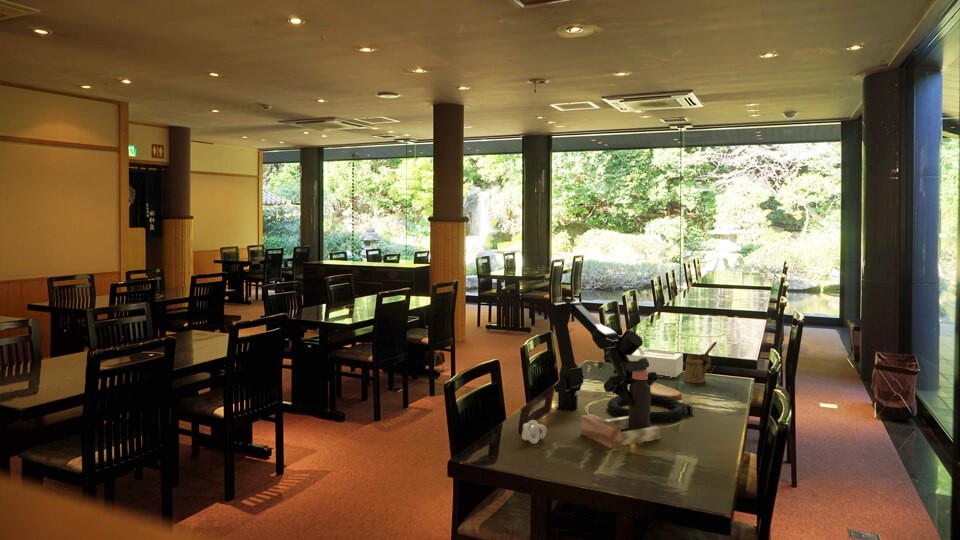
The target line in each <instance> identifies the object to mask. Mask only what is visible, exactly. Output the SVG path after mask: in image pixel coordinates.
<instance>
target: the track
mask: <svg viewBox="0 0 960 540" xmlns="http://www.w3.org/2000/svg"><path fill="white" fill-rule="evenodd" d="M580 421H581V422H580V423H581V426H580V428H581V429H580V430H581V431H580V432H581V435H582V434H583V436H584V435H585V436H584V437H586V436H587V437H586V438H588V439H591V440H592V439H593V440H592V441H594V440H595V442H596V441H597V442H596V443H598V442H599V443H598V444H600V443H601V444H600V445H602V444H603V445H602V446H604V445H605V446H604V447H606V446H607V447H606V448H608V447H609V448H608V449H615V448H620V447H619V446H621V445H624V446H627V445H626V444H629V445H634V444H633V443H635V444H638V442H640V443H644V441H646V442H649V441H655V440H656V441H657V440H661V439H660V438H661V428H660V427H658V426H656V425H655V426H650V427H648V428H642V429H637V430H631V431H628V430H627V431H622V430H621V429H623V430H626V429H625V428H628V421H629V416H625V417H613V418H608V419H607V418H606V419H603V418H602V417H599V416H597V415H595V414H592V413H589V414H584V415H581V420H580ZM614 447H615V448H614ZM621 447H622V446H621Z"/></svg>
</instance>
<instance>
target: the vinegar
mask: <svg viewBox="0 0 960 540" xmlns="http://www.w3.org/2000/svg"><path fill="white" fill-rule="evenodd" d="M632 379H633V383H632V384H629V385H628V390H629V392H630V394H631V396H632V398H633V400H634V403H635V405H634V406H632V405H630V404H628V409H629V421H628V429H627V431H631V430H637V429H642V428H648V427H651V422H650V412H651V404H650V399H651V388H650V386H649V385H648V384H647V380H648V372H647V371H645V370H637V371H632Z"/></svg>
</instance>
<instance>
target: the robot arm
mask: <svg viewBox="0 0 960 540" xmlns="http://www.w3.org/2000/svg"><path fill="white" fill-rule="evenodd" d="M545 309H546V315H547V317H548V320H549V323H551V325H552V326H553V327H554V333H555V336H556V337H555V338H556V342H557V346H558V347H557V348H558V352H559V358H560V364H561V366H560V370H559V374H558V375H559V376H558V378H559V380H557V382H556V383H555V384H554V386H553V389H554V392H555V393H558V394H557V397H558V398H557V400H558V401H557V402H558V403H557V405H558V406H557V407H556V409H557V410H564V411H565V410H566V411H575V410H576V409H577V408H578V407H579V396H578V394H577V392H579V391H581V388H582V385H583V384H584V378H585V376H584V374H583V373H584V372H583V368H582V366H578V365H577V364H576V362H575V357H574V350H573V345H572V341H571V340H572V339H571V334H570V331H569V325H568V324H569V322H570V319H571V315H572V316H573V317H574V318H575V319H576V320H577V321H578V322H579V323H580V324H581V325H582V326H583V327H584V328H585V329H586V330H587V331H588V332H589V333H590V335H591V339H592V341H593V342H594V344H595V345H596V347H597V348H598V349H600V350H606V349H609V350H608V351H605V352H604V355H603V360H610V362H611V364H612V366H613V368H614V370H613V371H612V372H613V374H616V375H612V376H609V377H608V378H607V380H606V381H605V382H604V383H603V389H604V391H605V392H606V393H612V394H613V395H616V396H619V397H621V398H622V399H624V400H625V401H626V402H628V403H629V404H630V405H632V406H634V405H635V403H634V400H633V398H632V396H631V394H630V392H629V385H631V384H632V383H633V379H632V371H637V370H647V367H649V362H648V360H647V359H646V358H641V359H639V360H638V361H630V360H629V358H628V357H627V355H632V354H633V353H634V352H635V351H636V350H637V349H638V350H639V349H640V348H641V347H642V346H643V343H644V340H643V339H642V337H641V336H640V335H638V334H637V333H636V332H633V331H632V329H627V330H625V332H624V333H623V334H622V335H619V334H618V332H616V331H615V330H613V329H612V328H611V327H608V326H605V325H603V324H602V323H600V321H598V319H597V318H595V317H594V316H593V314H591V312H590V311H589V310H587V309H586V308H585V307H584V306H583V303H582V302H580V301H578V300H576V301H569V302H565V301H559V302H558V301H556V302H550V303H549V304H548V305H547V307H546V308H545ZM658 379H659V376H657V374H656V372H653V371H652V372H648V380H647V384H648V385H649V386H651V385H652V384H653V383H654V382H655V383H656V381H657V380H658ZM651 403H652V397H651V399H650V405H652V404H651ZM629 404H628V405H629Z"/></svg>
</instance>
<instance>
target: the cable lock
mask: <svg viewBox="0 0 960 540" xmlns="http://www.w3.org/2000/svg"><path fill="white" fill-rule="evenodd" d="M651 397H652V403H651V404H650V405H658V404H660V405H659V406H662V405H663V406H662V407H667V408H669V407H670V408H669V409H671V408H672V409H671V410H664V411H650V423H662V422H664V421H668V422H672V421H671V420H673V421H676V420H679V419H681V418H683V417H686V416H690V415H691V416H692V415H693V413H694V407H693V404H690V403H684V402H680V401H679V400H674V399H672V398H668V397H665V396H657V395H651ZM626 403H628V402H626V401H625V400H624V399H622V398H621V397H619V396H618V395H616V396H615V397H612V398H610V399H609V401H608V402H607V405H606V406H607V410H608V411H609V412H610V413H611V414H613V415H614V414H615V416H616V415H617V416H616V417H618V416H619V417H625V416H629V408H626V407H622V406H623V405H627V404H626ZM622 404H623V405H622ZM619 417H618V418H619Z"/></svg>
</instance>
